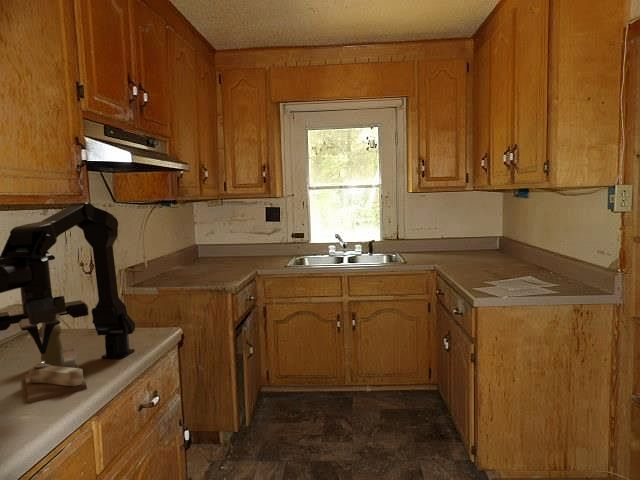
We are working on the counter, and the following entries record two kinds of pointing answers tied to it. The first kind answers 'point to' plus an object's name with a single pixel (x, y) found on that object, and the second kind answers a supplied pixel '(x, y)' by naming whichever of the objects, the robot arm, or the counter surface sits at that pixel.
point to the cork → (53, 347)
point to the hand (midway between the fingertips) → (43, 353)
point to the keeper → (62, 359)
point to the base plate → (49, 389)
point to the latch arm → (56, 375)
